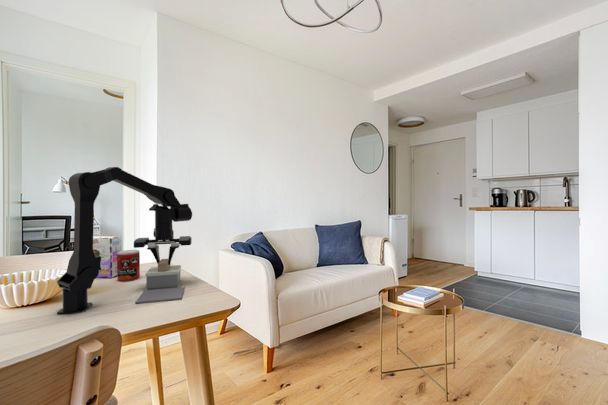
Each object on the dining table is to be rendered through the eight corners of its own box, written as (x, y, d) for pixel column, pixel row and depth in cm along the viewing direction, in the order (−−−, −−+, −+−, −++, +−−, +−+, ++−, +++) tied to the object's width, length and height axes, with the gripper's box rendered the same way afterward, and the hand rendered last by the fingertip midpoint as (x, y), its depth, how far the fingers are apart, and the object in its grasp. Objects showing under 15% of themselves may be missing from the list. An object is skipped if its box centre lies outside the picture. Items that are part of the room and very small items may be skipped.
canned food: (114, 282, 113) (113, 253, 113) (121, 277, 121) (120, 250, 120) (136, 280, 115) (136, 252, 115) (142, 275, 123) (141, 249, 122)
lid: (178, 276, 105) (177, 263, 105) (145, 279, 102) (145, 265, 102) (181, 270, 115) (180, 257, 115) (151, 272, 112) (151, 259, 112)
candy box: (121, 274, 124) (121, 235, 124) (111, 278, 118) (110, 237, 118) (91, 274, 125) (90, 235, 125) (79, 277, 120) (79, 237, 119)
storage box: (177, 288, 106) (177, 274, 105) (146, 290, 103) (146, 276, 102) (180, 280, 115) (180, 267, 115) (152, 282, 112) (151, 269, 112)
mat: (181, 299, 93) (181, 297, 93) (135, 304, 90) (135, 302, 90) (184, 288, 105) (184, 286, 105) (143, 292, 101) (143, 290, 101)
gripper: (192, 220, 119) (192, 259, 119) (140, 221, 113) (140, 262, 114) (190, 222, 108) (190, 265, 109) (133, 224, 103) (133, 268, 103)
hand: (164, 265), depth 109 cm, fingers open, 3 cm apart
